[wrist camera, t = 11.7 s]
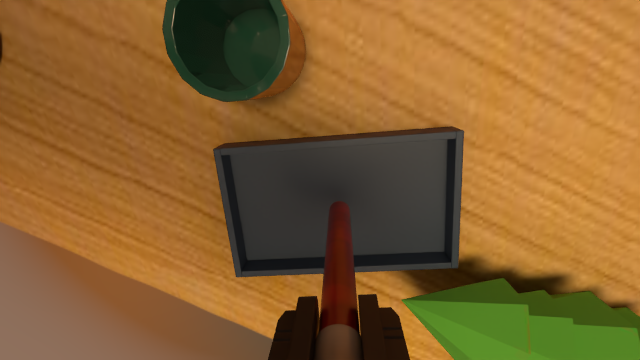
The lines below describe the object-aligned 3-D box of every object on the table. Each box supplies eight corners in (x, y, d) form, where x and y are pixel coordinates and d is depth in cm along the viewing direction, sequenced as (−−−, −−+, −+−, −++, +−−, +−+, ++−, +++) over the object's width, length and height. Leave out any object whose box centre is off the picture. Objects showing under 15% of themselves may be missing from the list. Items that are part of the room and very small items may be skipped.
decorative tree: (803, 539, 22) (407, 416, 19) (625, 424, 33) (360, 336, 31) (832, 375, 23) (462, 237, 21) (651, 317, 35) (398, 224, 32)
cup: (227, 99, 28) (177, 106, 19) (212, 8, 26) (149, -31, 17) (309, 92, 27) (296, 96, 19) (301, -2, 25) (281, -47, 17)
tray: (243, 262, 32) (235, 277, 30) (223, 143, 29) (212, 149, 26) (448, 253, 31) (458, 268, 28) (452, 126, 27) (464, 130, 25)
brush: (328, 221, 24) (299, 584, 6) (326, 200, 23) (290, 529, 6) (351, 220, 23) (384, 587, 6) (350, 198, 23) (381, 531, 6)
